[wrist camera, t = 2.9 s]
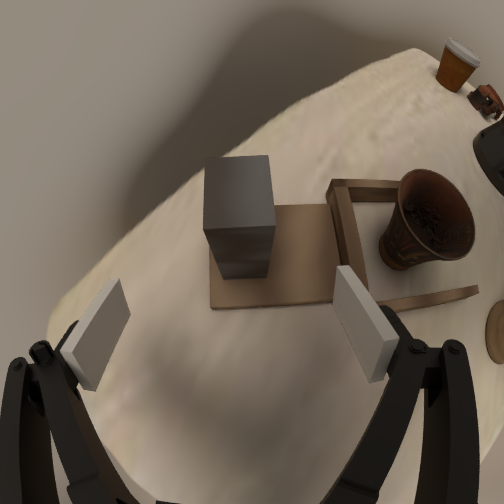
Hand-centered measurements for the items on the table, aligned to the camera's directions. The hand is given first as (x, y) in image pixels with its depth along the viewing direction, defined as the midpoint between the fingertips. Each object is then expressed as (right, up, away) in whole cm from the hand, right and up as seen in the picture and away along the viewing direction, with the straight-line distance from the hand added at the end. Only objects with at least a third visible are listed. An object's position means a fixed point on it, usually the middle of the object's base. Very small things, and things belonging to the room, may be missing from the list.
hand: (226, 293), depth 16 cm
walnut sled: (+12, +2, +12) cm, 17 cm away
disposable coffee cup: (+47, +42, +26) cm, 69 cm away
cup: (+18, +3, +12) cm, 22 cm away
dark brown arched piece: (+57, +36, +25) cm, 72 cm away
